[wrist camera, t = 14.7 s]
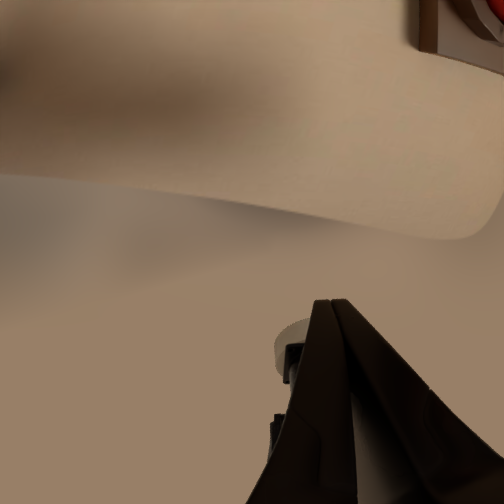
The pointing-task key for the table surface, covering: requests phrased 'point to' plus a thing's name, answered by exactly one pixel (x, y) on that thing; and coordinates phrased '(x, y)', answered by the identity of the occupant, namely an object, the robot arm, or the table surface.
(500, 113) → the table surface
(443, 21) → the button block
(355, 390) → the robot arm
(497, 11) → the button
